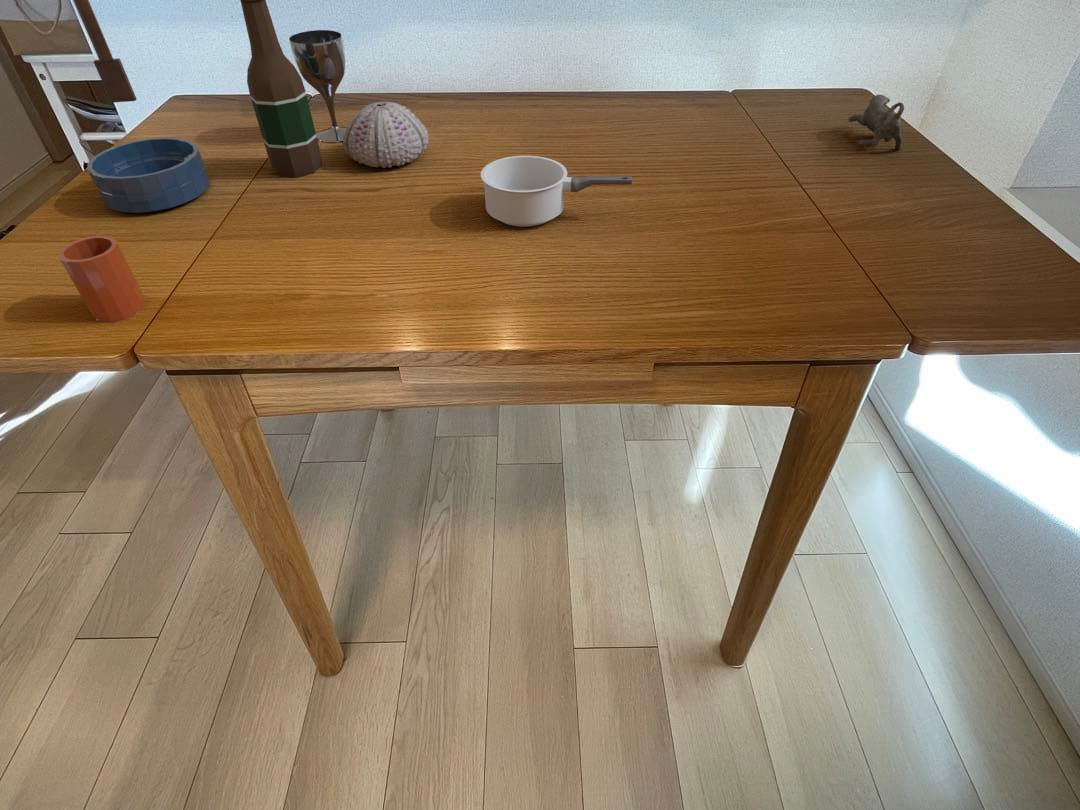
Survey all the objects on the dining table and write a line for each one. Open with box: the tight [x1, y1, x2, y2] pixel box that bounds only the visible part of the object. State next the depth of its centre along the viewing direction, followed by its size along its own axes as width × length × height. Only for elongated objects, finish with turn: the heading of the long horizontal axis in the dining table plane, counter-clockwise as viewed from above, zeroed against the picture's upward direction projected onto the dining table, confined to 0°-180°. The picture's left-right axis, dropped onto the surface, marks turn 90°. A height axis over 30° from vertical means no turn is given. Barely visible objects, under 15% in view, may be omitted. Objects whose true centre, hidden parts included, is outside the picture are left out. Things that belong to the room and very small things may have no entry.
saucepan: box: [480, 155, 633, 228], centre depth 88 cm, size 12×20×6 cm, turn 82°
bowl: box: [87, 137, 211, 214], centre depth 93 cm, size 14×14×6 cm
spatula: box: [72, 0, 137, 103], centre depth 80 cm, size 3×2×20 cm, turn 99°
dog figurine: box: [847, 94, 905, 151], centre depth 105 cm, size 12×6×7 cm, turn 179°
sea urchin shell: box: [341, 101, 430, 169], centre depth 102 cm, size 13×14×8 cm
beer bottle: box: [239, 0, 323, 178], centre depth 93 cm, size 8×8×24 cm
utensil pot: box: [58, 235, 147, 323], centre depth 71 cm, size 5×6×8 cm
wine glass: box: [288, 29, 347, 143], centre depth 106 cm, size 8×8×15 cm
